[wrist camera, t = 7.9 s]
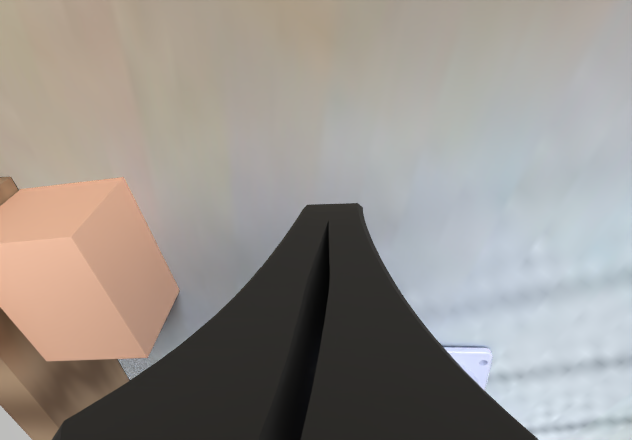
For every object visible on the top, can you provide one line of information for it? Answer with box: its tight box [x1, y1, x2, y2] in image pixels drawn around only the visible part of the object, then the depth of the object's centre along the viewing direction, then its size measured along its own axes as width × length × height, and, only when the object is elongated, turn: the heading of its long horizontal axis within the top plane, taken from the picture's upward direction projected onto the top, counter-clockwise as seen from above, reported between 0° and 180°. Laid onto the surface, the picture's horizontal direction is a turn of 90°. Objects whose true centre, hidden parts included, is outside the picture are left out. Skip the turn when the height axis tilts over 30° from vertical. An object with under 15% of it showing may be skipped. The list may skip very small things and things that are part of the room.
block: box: [0, 177, 180, 361], centre depth 23 cm, size 8×6×5 cm
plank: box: [0, 177, 129, 440], centre depth 27 cm, size 24×2×6 cm, turn 5°
